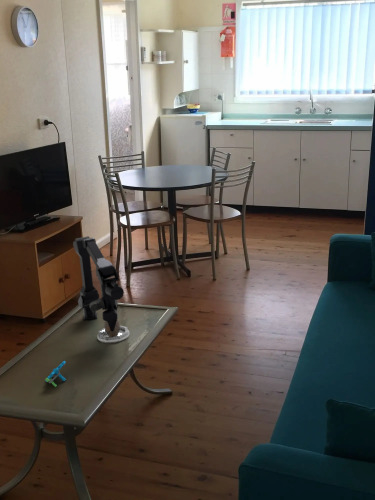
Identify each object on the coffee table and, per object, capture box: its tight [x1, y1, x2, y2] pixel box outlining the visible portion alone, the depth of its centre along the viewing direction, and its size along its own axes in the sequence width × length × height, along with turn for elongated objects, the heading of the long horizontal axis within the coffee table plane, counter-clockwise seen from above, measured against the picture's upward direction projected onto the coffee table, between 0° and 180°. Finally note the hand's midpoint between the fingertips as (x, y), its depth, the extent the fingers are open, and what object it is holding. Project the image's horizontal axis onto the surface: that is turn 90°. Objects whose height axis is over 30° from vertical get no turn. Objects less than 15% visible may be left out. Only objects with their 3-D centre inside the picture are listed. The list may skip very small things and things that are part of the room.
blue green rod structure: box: [44, 360, 67, 388], centre depth 214 cm, size 11×6×10 cm
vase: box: [103, 318, 121, 336], centre depth 249 cm, size 7×7×9 cm
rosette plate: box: [96, 324, 131, 344], centre depth 250 cm, size 14×14×2 cm
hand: (112, 326), depth 249 cm, fingers open, 9 cm apart
